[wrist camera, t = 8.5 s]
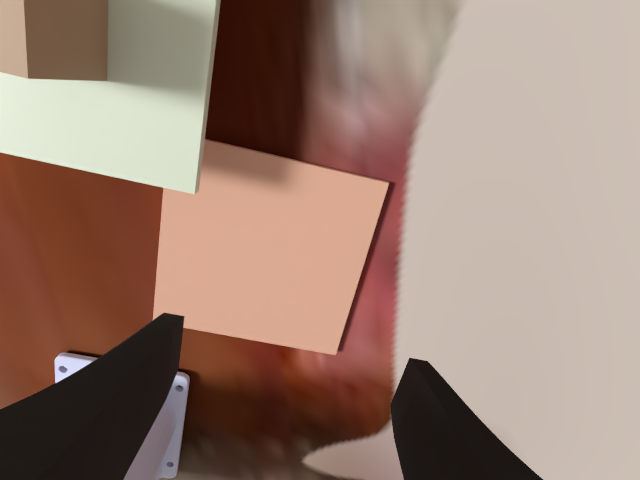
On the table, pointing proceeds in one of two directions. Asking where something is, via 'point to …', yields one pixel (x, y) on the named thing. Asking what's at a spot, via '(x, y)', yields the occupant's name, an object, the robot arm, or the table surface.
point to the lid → (109, 85)
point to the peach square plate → (266, 248)
